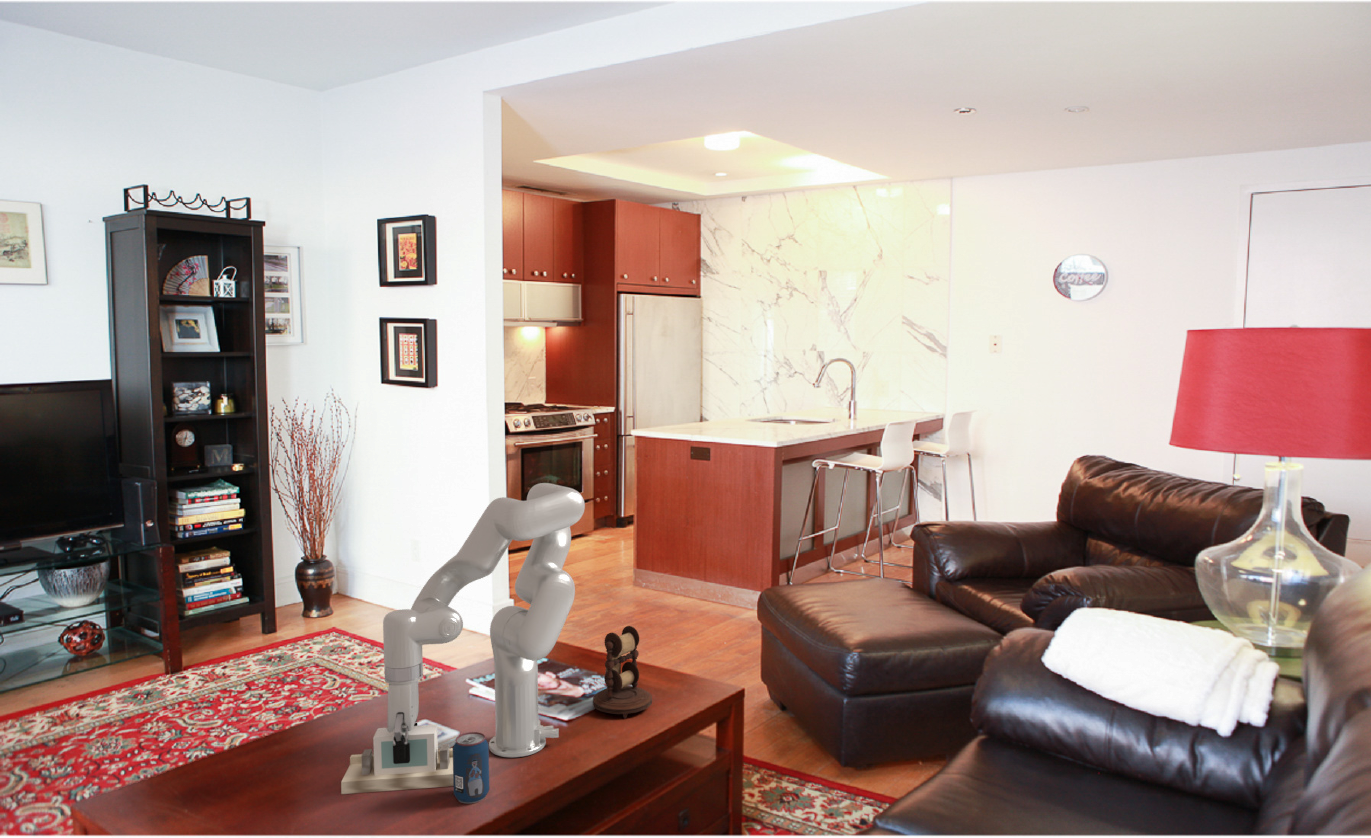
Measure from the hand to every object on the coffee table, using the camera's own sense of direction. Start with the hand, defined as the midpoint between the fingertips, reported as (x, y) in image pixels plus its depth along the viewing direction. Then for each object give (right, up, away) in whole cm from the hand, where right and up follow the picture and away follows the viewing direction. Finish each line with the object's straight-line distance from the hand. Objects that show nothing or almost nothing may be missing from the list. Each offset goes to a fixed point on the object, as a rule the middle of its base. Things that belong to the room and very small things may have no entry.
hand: (406, 752), depth 181 cm
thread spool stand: (+42, -4, +38) cm, 57 cm away
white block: (0, -4, 0) cm, 4 cm away
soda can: (+15, -7, -7) cm, 18 cm away
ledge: (0, -6, +1) cm, 6 cm away
